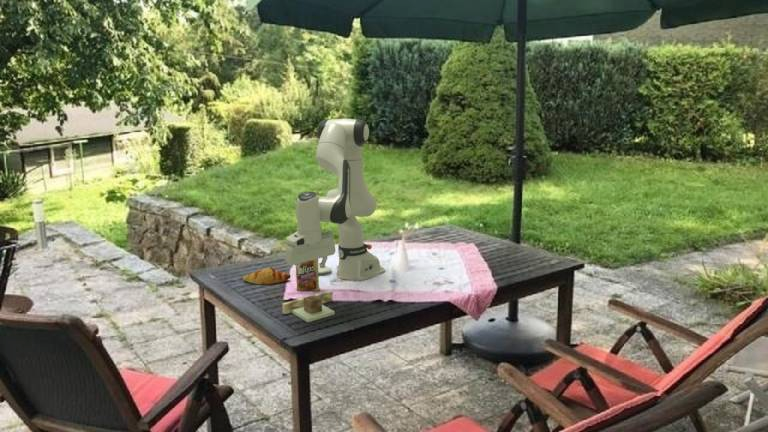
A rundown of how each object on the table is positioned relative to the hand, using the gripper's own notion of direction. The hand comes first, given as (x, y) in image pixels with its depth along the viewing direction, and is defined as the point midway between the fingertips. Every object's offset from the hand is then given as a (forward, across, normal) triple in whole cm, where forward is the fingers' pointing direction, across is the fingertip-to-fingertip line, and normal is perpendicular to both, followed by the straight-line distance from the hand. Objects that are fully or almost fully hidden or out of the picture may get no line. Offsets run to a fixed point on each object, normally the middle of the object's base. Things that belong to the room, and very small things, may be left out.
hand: (311, 270), depth 244 cm
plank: (+18, -1, -7) cm, 19 cm away
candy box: (+18, -11, -24) cm, 32 cm away
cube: (+16, +1, 0) cm, 16 cm away
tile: (+17, +1, 0) cm, 17 cm away
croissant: (+18, -2, -44) cm, 48 cm away
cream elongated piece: (+19, -30, -49) cm, 60 cm away
